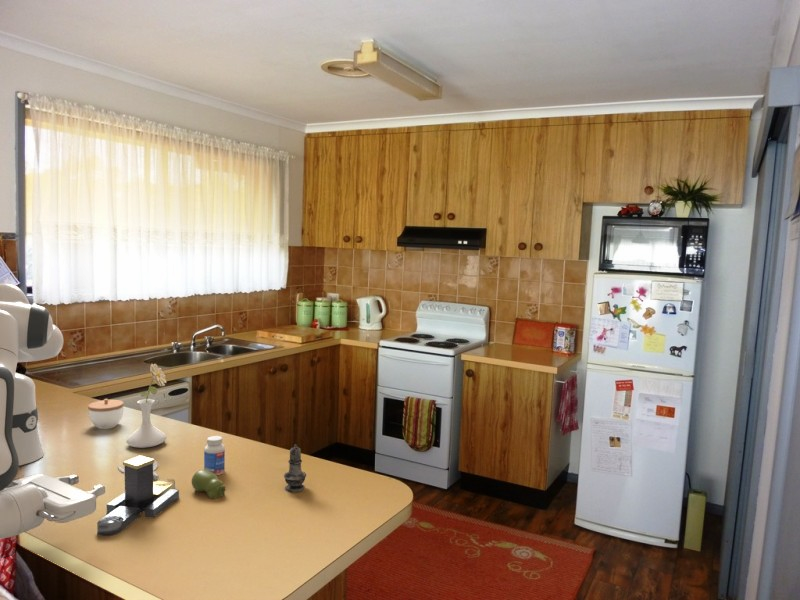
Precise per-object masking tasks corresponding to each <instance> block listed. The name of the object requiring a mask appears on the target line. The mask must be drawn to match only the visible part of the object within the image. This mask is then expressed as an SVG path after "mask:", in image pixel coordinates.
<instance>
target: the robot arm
mask: <svg viewBox="0 0 800 600" xmlns="http://www.w3.org/2000/svg"><path fill="white" fill-rule="evenodd" d="M63 346H64V335H63V332H62V331H61V330H60V329H59V327H58V326H57V325H55V324H54V321H53V318H52V315H51V312H50V311H49V310H48V309H47V308H46V307H44V306H41V305H38V304H37V303H36V302H33V303H30V302H29V299H28V297H27V295H26V294H25V293H24V291H23V290H22V289H21V288H19V286H16V285H14V284H10V283H0V541H1V540H3V539H6V538H13V537H15V536H18V535H20V534H23V533H25V532H27V531H29V530H33V529H35V528H38V527H40V526H41V525H42V524H43V523H44V520H45V519H46V520H47V521H48V522H55V523H58V524H64V523H68V522H72V521H75V520H79V519H82V518H84V517H87V516H89V515H92V514H93V513H95V511H96V510H97V499H98V498H99V497H101V496H103V495H105V494H106V486H105V485H101V484H98V485H94V486H93V489H92V490H87V491H86V490H84V489H81V488H78V487H76V486H75V485H76V484H78V483H79V482H80V479H79V477H80V476H78V475H76V474H70V475H68V476H67V475H65V476H57V477H52V476H49V475H47V474H45V473H38V474H37V473H36V474H32V475H31V474H30V475H28V476H24V477H21V478H17V479H16V477H17V474H18V471H19V467H20V466H23V465H26V464H30V463H33V462H35V461H38V460H40V459H42V457H44V455H45V452H44V449H43V446H42V442H41V439H40V432H39V428H38V421H39V411H38V407H37V406H36V405H37V404H36V403H37V402H36V384H35V382H34V380H33V379H32V378H31V377H29V376H26V375H25V374H22V373H18V372H16V370H17V364H18V363H25V362H26V363H27V362H38V361H43V360H48V359H52V358H56V357H57V356H58V355H59V354H60V352H61V351H62V350H63ZM14 479H15V480H14Z"/></svg>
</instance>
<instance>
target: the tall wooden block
mask: <svg viewBox="0 0 800 600" xmlns="http://www.w3.org/2000/svg"><path fill="white" fill-rule="evenodd" d="M154 460H155V458H152V457H147V456H144V455H138V456H135V457H132V458H129V459H126V460H124V461H122V465H123V466H124V467H123V469H125V474H124V493H125V507H134V508H140V514H141V513H143V511H144V512H145V508H146V507H148V506H149V505H150V504H152V503H153V502H154V499H153V483H154V479H153V463H154Z"/></svg>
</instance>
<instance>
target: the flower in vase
mask: <svg viewBox="0 0 800 600" xmlns="http://www.w3.org/2000/svg"><path fill="white" fill-rule="evenodd" d="M149 370H150V371H149V372H150V375H151V377H152V379H151V382H150V383H149V386H148V391H147V392H145V391H142V393H141V395H140V396H141V397H146V398H145V399H140V400H137V402H136V403H137V404H138V405H139V407H140V410H141V418H142V420H141V421H142V422H141V425H139V427H138V428H137V429H136V430H134V431H133V432H132V433H131V434H130V435H129V436H128V437H127V439H126V443H127V445H128V446H130V447H133V448H142V449H144V448H151V447H156V446H158V445H161V444H162V443H164V442H165V441H166V439H167V436H166V434H165V433H164V432H163V431H162V430H160V429H159V428H157V427H156V426H154V425H153V424H152V422H151V411H152V410H151V409H152V407H153V404H154V403H155V401H156V400H155V399H151V398H149V396H151V394H152V395H156V394H157V393H158V389H157V387H155V386H152V384H153V382H155V383H156V384H157V385H158V386H159V387H166V384H167V380H166V375H165V373H164V372H163V371H162V368H161V367H158V365H157V363H154V364H153V363H151V364H150V367H149Z"/></svg>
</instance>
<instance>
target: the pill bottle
mask: <svg viewBox="0 0 800 600" xmlns="http://www.w3.org/2000/svg"><path fill="white" fill-rule="evenodd" d="M206 444H207V445H206V446H204V448H203V449H204V451H203V453H204V454H203V458H204V459H203V460H204V461H203V468H204V469H203V470H208V471H211V472H212V473H214V474H215V475H216V476H219V475H221V474H224V472H225V465H226V462H225V461H226V457H225V456H226V455H225V451H226V450H225V449H226V448H225V445H224V444H223V437H222V436H220V435H212V436H209V437H207V439H206Z"/></svg>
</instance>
